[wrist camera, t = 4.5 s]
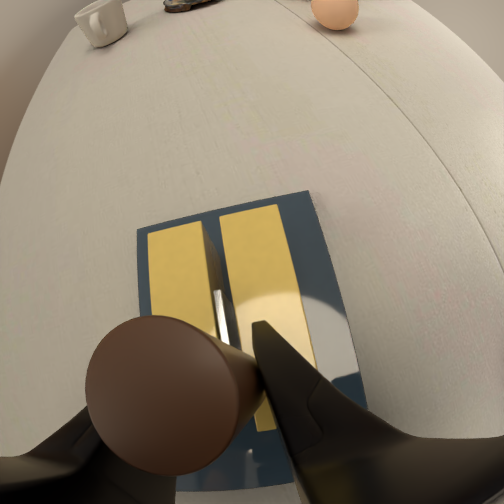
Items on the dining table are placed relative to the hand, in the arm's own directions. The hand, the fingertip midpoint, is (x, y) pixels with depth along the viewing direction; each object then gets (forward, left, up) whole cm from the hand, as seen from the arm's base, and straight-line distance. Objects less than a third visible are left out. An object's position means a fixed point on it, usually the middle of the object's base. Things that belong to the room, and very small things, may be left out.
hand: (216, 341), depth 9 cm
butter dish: (0, +1, -7) cm, 7 cm away
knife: (0, 0, -6) cm, 6 cm away
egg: (+34, +15, -7) cm, 38 cm away
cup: (+19, +46, -7) cm, 50 cm away
